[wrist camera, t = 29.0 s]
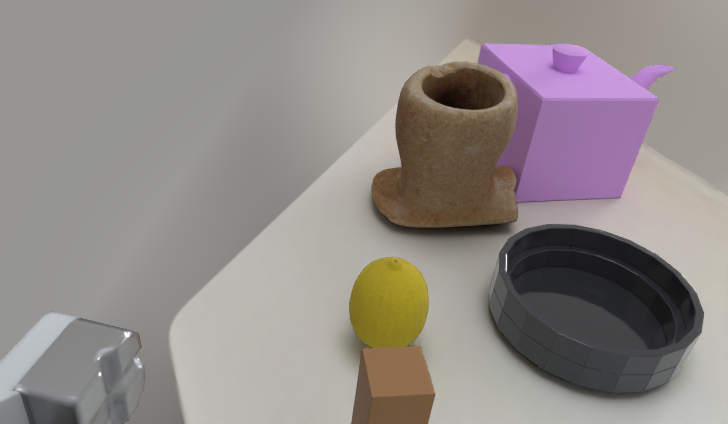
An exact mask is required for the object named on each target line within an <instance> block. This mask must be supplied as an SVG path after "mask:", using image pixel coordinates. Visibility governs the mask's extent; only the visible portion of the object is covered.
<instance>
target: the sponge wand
mask: <svg viewBox="0 0 728 424" xmlns="http://www.w3.org/2000/svg"><path fill="white" fill-rule="evenodd" d="M434 397H435V391H434V387H433V384H432V381H431V378H430V374H429V371H428V368H427V364H426V361H425V358H424V355H423V351H422V348H421V346H408V347H383V348H363V349H362V353H361V360H360V367H359V374H358V381H357V388H356V395H355V402H354V409H353V415H352V422H351V424H428V421H429V417H430V413H431V409H432V405H433V401H434Z"/></svg>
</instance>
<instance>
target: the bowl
mask: <svg viewBox="0 0 728 424" xmlns="http://www.w3.org/2000/svg"><path fill="white" fill-rule="evenodd" d="M489 307H490V310H491V312H492V315H493V317H494V320H495V322H496V325H497V327H498V328H499V330H500V331H501V332H502V333H503V334H504V336H505V337H506V338H507V339H508V340H509V342H510V343H511V344H512V345H513V346H514V348H515V349H516V350H517V351H519V352H520V353H521V354H523V355H524V356H525V357H526V358H527V359H528V360H530V361H531V362H532V363H534V364H535V365H537V366H538V367H540V368H541V369H543V370H545V371H546V372H548V373H550V374H552V375H554V376H556V377H558V378H560V379H562V380H565V381H567V382H570V383H572V384H575V385H579V386H582V387H585V388H590V389H595V390H601V391H607V392H642V391H646V390H649V389H652V388H654V387H657V386H660V385H663V384H665V383H668V382H669V381H670V380H671V379H672V378H673V377H674V375H675V374H676V373H677V372H678V371H679V370H680V369H681V368H682V366H683V364H684V363H685V361H686V359H687V357H688V356H689V354H690V352H691V350H692V348H693V347H694V345H695V343H696V341H697V340H698V338H699V336H700V334H701V332H702V325H703V318H704V311H703V309H702V306H701V304H700V301H699V298H698V296H697V293H696V291H695V290H694V289H693V288H692V287H691V285H690V284H689V283H688V282H687V280H686V279H685V278H684V277H683V276H682V274H681V273H679V271H677V270H676V269H675V268H673V267H672V266H671V265H670V264H668V263H667V262H666V261H665V260H663V259H662V258H661V257H659V256H658V255H657V254H655V253H653V252H651V251H649V250H647V249H646V248H644V247H642V246H640V245H638V244H636V243H634V242H633V241H630V240H628V239H625V238H622V237H620V236H617V235H614V234H611V233H609V232H606V231H602V230H598V229H593V228H588V227H583V226H578V225H563V224H547V225H542V226H537V227H532V228H527V229H524V230H523V231H521V232H519V233H517V234H516V235H514V236H512V237H510V238H509V239H508V241H507V242H506V244H505V245H504V247H503V248H502V250H501V251H500V253H499V256H498V260H497V263H496V267H495V270H494V274H493V277H492V281H491V284H490V292H489Z"/></svg>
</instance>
